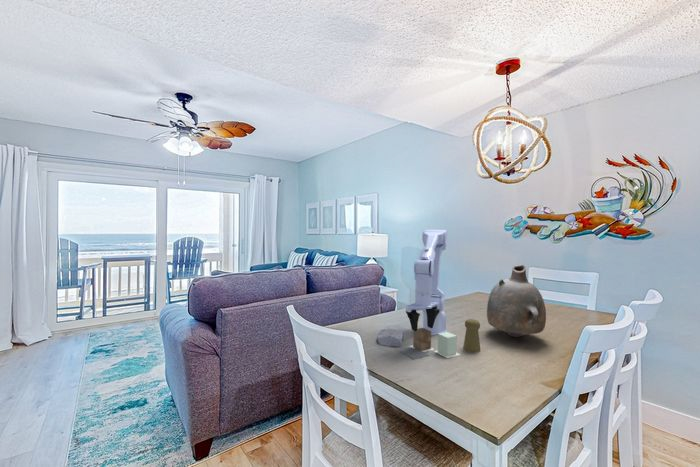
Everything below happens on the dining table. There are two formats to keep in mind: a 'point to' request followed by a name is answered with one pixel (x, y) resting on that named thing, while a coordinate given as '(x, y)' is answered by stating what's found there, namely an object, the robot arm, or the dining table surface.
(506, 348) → the dining table surface
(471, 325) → the cork
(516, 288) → the jug
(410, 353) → the charcoal mat
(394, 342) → the stone block
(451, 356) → the tile
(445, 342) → the sage block
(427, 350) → the cream tile
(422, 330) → the walnut block
